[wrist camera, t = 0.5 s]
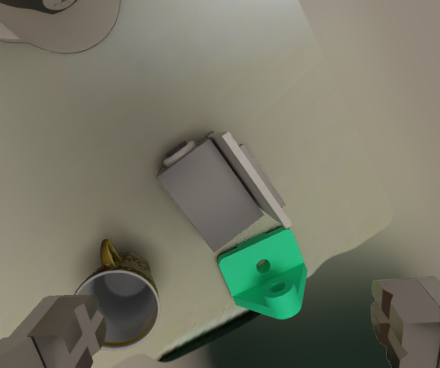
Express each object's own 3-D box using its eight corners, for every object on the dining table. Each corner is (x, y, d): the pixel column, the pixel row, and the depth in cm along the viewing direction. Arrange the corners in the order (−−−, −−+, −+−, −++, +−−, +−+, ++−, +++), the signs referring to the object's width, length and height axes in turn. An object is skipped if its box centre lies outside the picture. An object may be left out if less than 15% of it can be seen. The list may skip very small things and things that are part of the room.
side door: (204, 136, 43) (220, 135, 30) (214, 129, 43) (233, 125, 30) (253, 204, 46) (286, 230, 33) (262, 198, 46) (298, 221, 33)
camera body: (152, 163, 43) (148, 168, 36) (198, 130, 43) (203, 128, 37) (207, 235, 46) (214, 252, 39) (250, 203, 46) (264, 214, 39)
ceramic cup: (167, 297, 46) (166, 339, 37) (99, 312, 45) (80, 360, 35) (151, 215, 44) (146, 237, 34) (80, 228, 43) (53, 255, 33)
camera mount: (284, 222, 48) (314, 244, 38) (300, 264, 49) (333, 296, 39) (214, 254, 47) (226, 286, 37) (232, 296, 48) (249, 337, 38)
